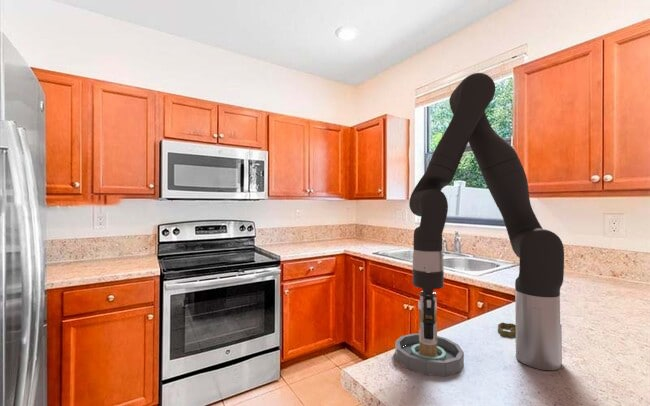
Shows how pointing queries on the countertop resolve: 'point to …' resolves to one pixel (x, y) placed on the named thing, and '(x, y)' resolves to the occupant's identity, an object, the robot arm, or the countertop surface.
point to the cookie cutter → (507, 326)
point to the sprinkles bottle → (427, 345)
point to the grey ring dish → (442, 365)
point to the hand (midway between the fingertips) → (428, 333)
